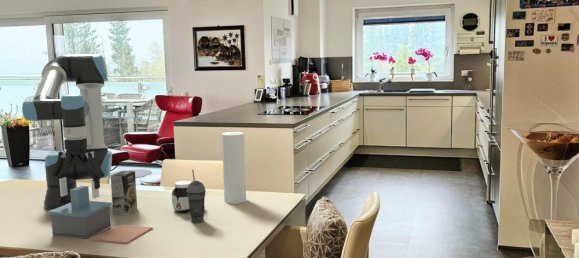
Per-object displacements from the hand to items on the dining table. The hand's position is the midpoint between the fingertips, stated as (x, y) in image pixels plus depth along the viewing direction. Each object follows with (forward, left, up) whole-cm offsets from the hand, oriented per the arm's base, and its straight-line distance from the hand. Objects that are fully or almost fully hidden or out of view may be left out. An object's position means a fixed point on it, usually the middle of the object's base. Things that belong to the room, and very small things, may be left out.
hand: (79, 196), depth 185 cm
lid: (0, 0, -6) cm, 6 cm away
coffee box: (+1, +25, -13) cm, 28 cm away
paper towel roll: (+39, +50, -13) cm, 65 cm away
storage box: (0, 0, -13) cm, 13 cm away
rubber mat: (+17, 0, -13) cm, 21 cm away
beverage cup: (+36, +20, -13) cm, 43 cm away
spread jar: (+26, +33, -13) cm, 44 cm away
